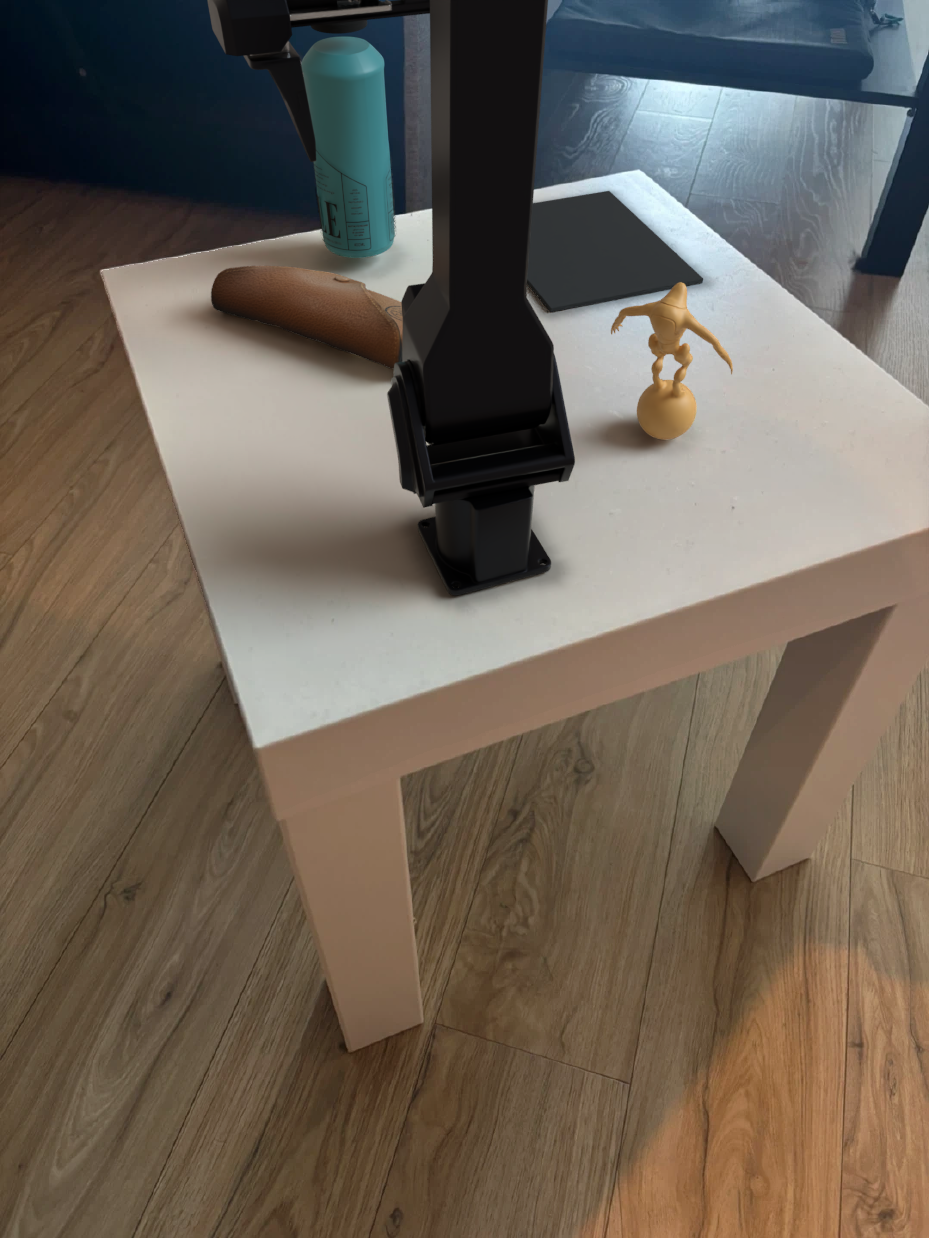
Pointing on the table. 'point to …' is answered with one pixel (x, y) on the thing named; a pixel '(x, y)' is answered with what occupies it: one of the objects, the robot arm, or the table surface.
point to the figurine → (670, 401)
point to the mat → (597, 253)
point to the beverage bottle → (350, 141)
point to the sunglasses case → (315, 308)
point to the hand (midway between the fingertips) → (379, 150)
